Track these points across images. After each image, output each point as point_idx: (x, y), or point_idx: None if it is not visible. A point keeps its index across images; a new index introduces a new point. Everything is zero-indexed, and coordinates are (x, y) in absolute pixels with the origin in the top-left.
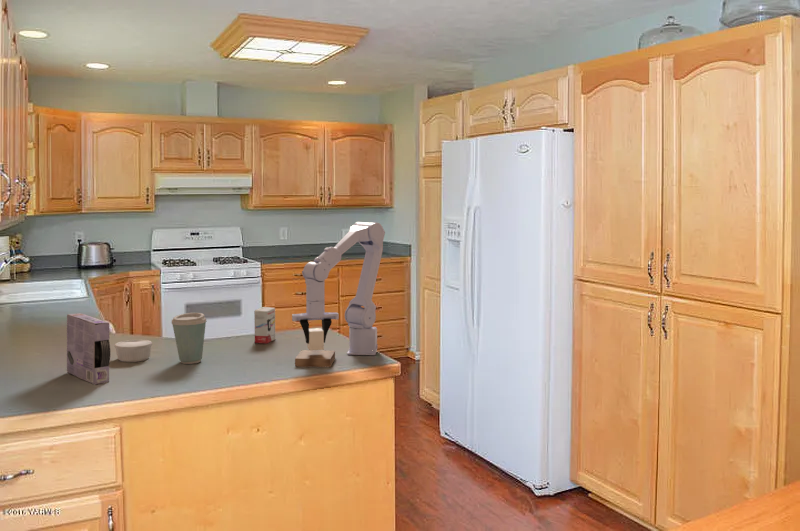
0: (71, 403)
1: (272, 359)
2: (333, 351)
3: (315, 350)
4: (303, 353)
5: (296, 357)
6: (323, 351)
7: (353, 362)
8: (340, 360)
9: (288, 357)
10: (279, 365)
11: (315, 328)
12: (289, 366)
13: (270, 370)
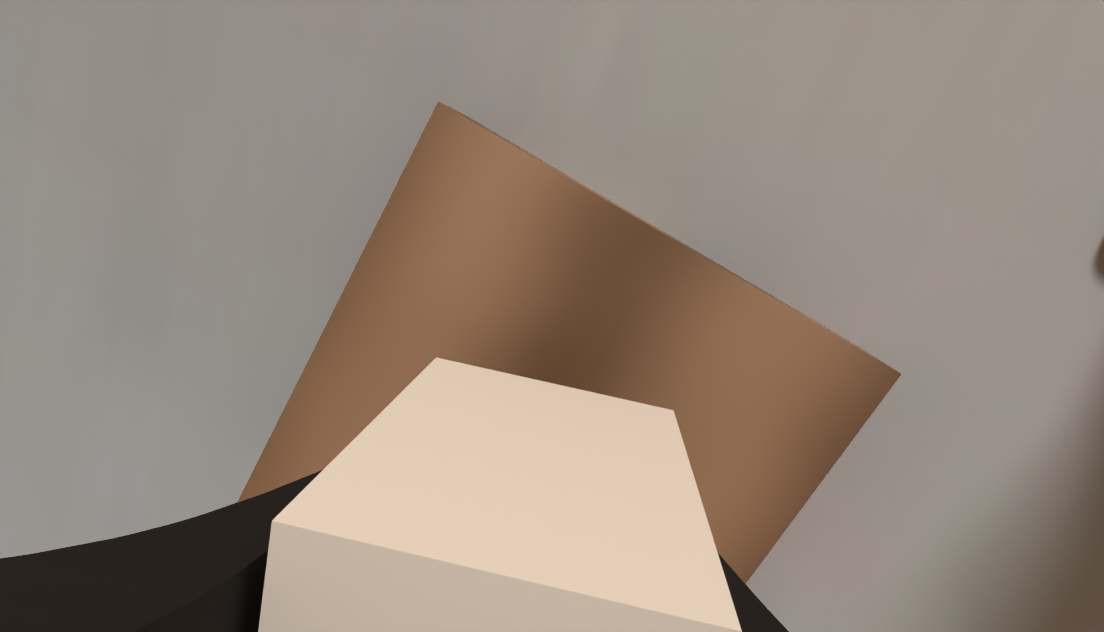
0: None
1: (97, 41)
2: (858, 400)
3: (633, 218)
4: (403, 320)
5: (256, 483)
6: (719, 336)
7: (962, 611)
8: (868, 461)
9: (311, 19)
10: (128, 364)
11: (539, 589)
12: (222, 452)
13: (10, 513)
